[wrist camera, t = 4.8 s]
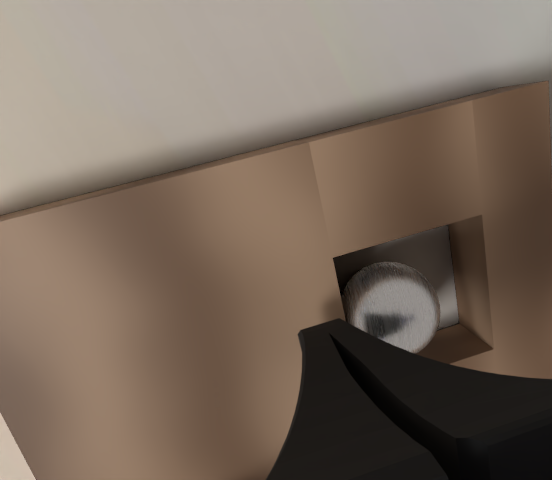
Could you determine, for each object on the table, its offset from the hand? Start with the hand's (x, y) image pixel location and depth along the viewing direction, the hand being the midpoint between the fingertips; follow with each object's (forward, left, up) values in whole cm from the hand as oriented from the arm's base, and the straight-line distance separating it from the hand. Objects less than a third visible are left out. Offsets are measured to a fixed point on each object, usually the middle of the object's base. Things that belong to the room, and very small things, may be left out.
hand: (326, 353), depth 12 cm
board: (-1, -2, -3) cm, 4 cm away
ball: (+3, 0, -1) cm, 3 cm away
